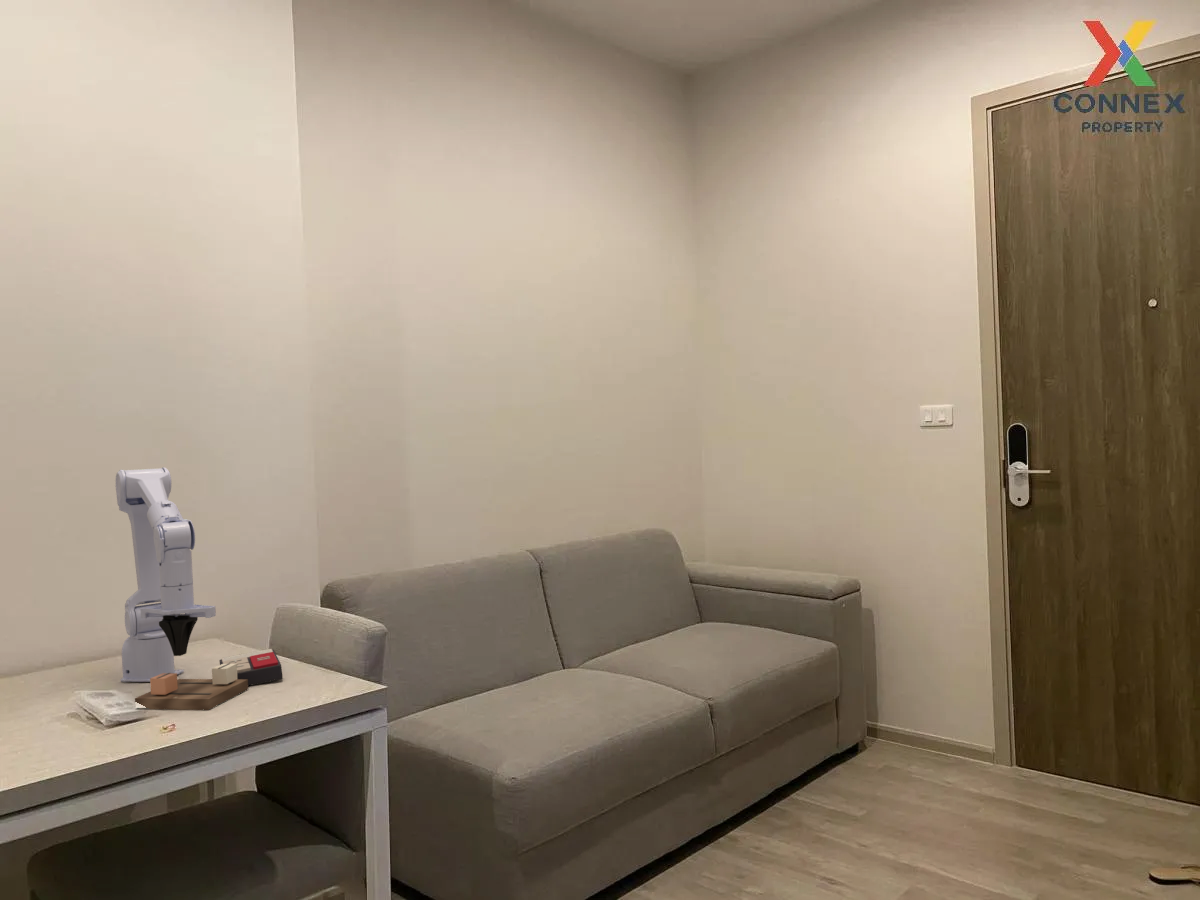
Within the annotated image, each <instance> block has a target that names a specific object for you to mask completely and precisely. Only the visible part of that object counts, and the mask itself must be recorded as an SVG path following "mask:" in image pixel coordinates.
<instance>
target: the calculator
mask: <svg viewBox="0 0 1200 900" xmlns="http://www.w3.org/2000/svg"><path fill="white" fill-rule="evenodd" d="M228 663H231V664H237V679H248V687H250V686H255V685H260V684H264V683H265V684H266V683H269V682H274V681H280V680H282V679H283V669H282V664H281V662H280V660H279V657H278V655H277V654H276V651H275V650H274V649H273V648H269V649H263V650H262V649H261V650H257V651H252V652H247V653H241V654H236V655H231V656H225V657H222V658H221V659H219V665H221V664H228ZM249 685H250V686H249Z"/></svg>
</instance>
